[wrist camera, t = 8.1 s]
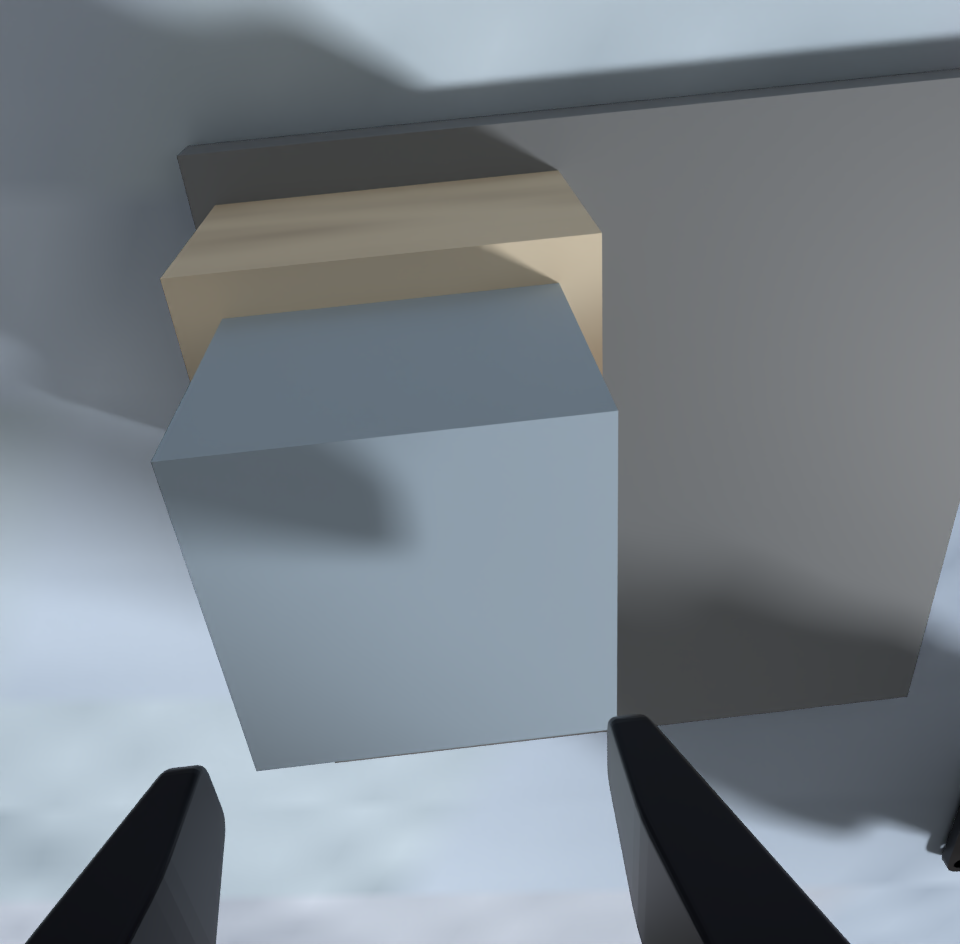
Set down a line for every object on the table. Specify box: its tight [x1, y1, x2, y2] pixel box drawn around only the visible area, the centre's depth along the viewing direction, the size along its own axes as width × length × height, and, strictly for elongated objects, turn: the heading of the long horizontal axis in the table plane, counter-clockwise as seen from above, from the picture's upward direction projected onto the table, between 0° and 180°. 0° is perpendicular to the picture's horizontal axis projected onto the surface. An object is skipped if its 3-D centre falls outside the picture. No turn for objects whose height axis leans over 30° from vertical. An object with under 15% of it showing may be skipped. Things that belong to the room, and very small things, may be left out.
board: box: [177, 69, 960, 763], centre depth 22 cm, size 18×18×1 cm
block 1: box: [160, 170, 603, 383], centre depth 17 cm, size 7×7×4 cm
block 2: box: [151, 283, 618, 771], centre depth 13 cm, size 6×6×4 cm
